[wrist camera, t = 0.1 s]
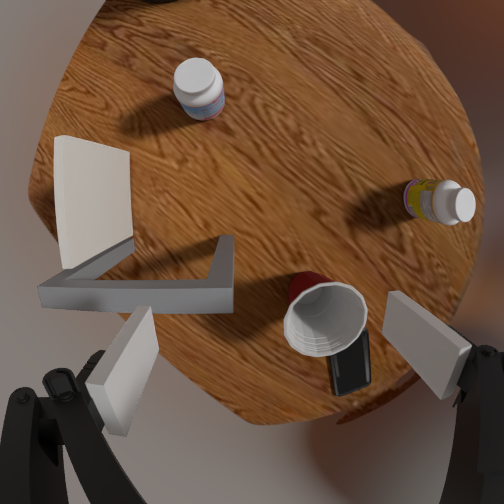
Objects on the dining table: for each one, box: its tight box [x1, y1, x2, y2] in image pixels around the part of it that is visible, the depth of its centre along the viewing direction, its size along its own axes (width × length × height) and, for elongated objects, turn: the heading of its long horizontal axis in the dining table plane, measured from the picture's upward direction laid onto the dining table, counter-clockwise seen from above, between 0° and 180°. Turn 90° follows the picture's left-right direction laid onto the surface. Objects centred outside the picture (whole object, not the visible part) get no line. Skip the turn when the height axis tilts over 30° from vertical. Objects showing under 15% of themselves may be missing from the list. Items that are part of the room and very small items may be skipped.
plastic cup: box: [284, 271, 368, 357], centre depth 38 cm, size 11×11×12 cm
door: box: [54, 135, 133, 269], centre depth 30 cm, size 13×2×18 cm, turn 1°
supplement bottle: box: [403, 179, 475, 225], centre depth 35 cm, size 7×7×13 cm
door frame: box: [37, 235, 234, 314], centre depth 30 cm, size 2×18×22 cm, turn 91°
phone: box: [329, 327, 371, 397], centre depth 48 cm, size 8×1×15 cm
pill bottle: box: [173, 58, 225, 120], centre depth 31 cm, size 6×6×11 cm
